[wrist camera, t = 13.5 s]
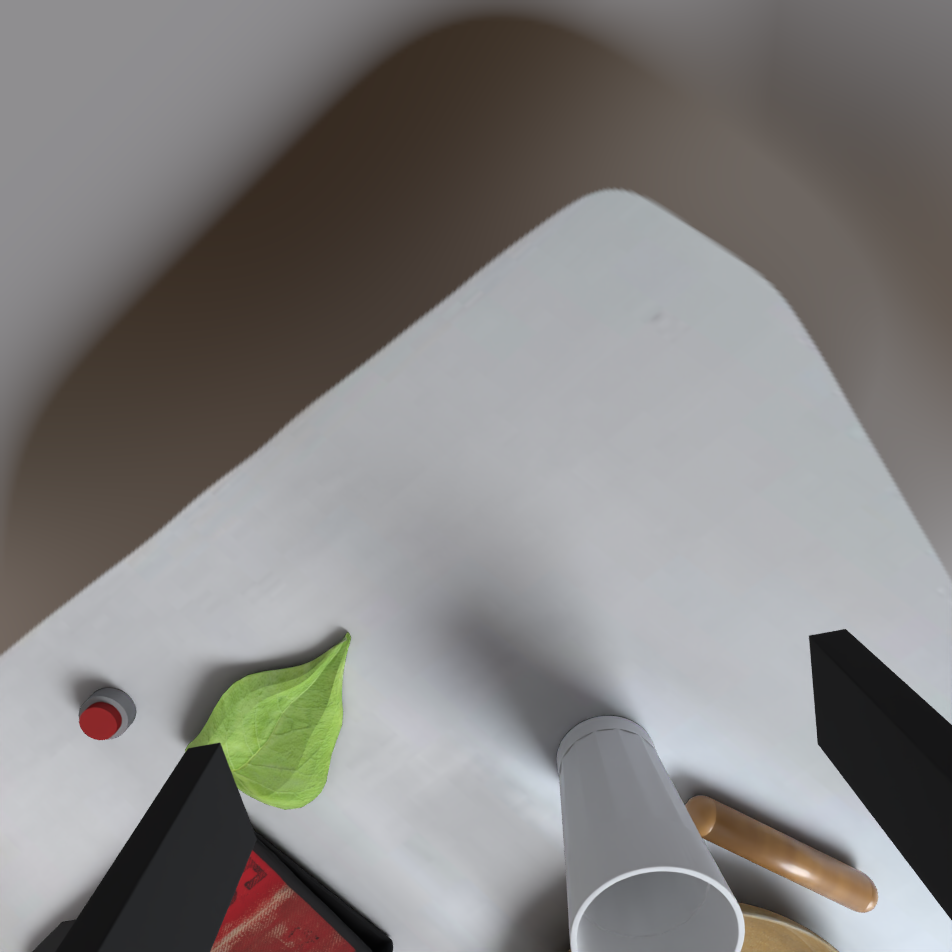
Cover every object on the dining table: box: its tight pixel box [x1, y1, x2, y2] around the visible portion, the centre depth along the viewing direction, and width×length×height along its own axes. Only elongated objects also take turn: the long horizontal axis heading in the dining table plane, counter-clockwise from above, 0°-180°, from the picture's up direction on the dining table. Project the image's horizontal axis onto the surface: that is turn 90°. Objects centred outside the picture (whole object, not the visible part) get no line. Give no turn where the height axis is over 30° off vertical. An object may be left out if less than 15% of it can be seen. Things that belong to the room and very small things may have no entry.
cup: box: [557, 716, 745, 952], centre depth 35 cm, size 8×8×12 cm
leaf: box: [185, 632, 351, 810], centre depth 39 cm, size 9×16×2 cm, turn 133°
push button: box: [79, 688, 136, 740], centre depth 39 cm, size 3×3×2 cm
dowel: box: [685, 795, 878, 913], centre depth 41 cm, size 14×2×2 cm, turn 61°
